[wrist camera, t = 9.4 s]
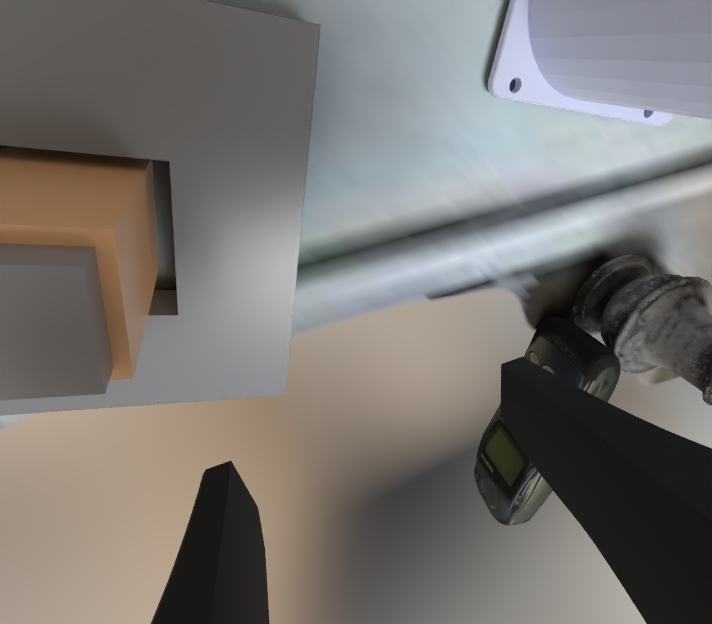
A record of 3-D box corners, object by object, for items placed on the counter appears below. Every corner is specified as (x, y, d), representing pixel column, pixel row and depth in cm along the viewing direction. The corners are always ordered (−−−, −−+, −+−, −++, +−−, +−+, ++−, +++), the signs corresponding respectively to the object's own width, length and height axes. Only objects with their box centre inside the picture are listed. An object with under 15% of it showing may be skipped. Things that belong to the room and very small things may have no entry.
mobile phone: (598, 360, 20) (492, 555, 27) (643, 359, 21) (530, 548, 28) (532, 310, 24) (455, 490, 31) (572, 311, 25) (489, 485, 32)
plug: (151, 158, 15) (104, 248, 8) (159, 264, 17) (126, 405, 10) (11, 144, 13) (-180, 238, 7) (38, 261, 15) (-91, 420, 9)
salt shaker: (584, 254, 22) (871, 414, 13) (671, 243, 24) (989, 379, 14) (556, 344, 26) (769, 527, 16) (634, 329, 27) (874, 489, 17)
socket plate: (307, 27, 14) (320, 24, 12) (279, 367, 21) (285, 395, 19) (-311, -102, 9) (-420, -133, 8) (-88, 386, 16) (-122, 424, 15)
